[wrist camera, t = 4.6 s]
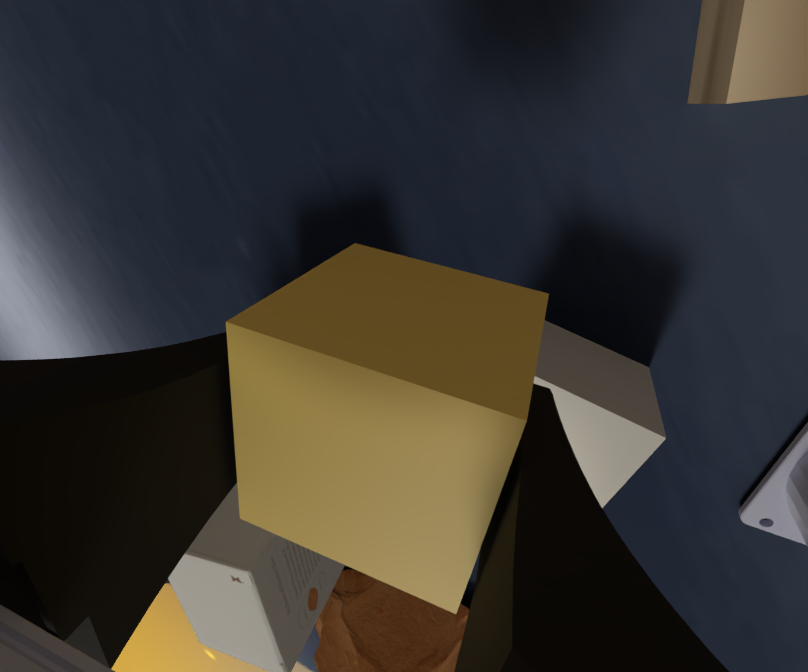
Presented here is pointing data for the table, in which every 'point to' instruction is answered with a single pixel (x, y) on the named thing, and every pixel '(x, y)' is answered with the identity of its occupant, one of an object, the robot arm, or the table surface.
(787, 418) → the table surface
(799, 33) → the maple cube
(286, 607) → the small box
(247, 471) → the mustard cube
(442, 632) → the stone
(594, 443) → the grey cube
